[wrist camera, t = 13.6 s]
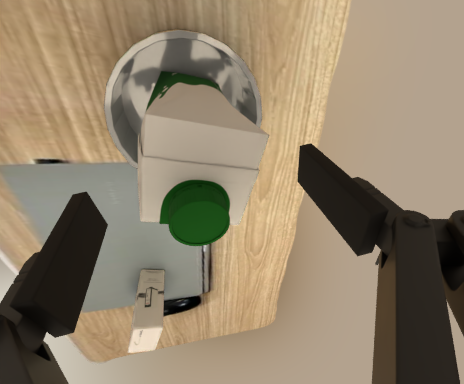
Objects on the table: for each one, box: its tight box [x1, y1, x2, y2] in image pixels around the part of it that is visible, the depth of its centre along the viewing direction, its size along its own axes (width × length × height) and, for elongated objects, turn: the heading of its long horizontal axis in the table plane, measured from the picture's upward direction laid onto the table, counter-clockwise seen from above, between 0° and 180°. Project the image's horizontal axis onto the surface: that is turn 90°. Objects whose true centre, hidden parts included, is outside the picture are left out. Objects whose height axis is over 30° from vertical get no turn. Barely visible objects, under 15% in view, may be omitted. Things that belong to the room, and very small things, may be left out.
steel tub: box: [104, 29, 262, 169], centre depth 27 cm, size 16×16×7 cm
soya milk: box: [138, 71, 269, 246], centre depth 22 cm, size 9×9×20 cm
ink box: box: [128, 269, 165, 353], centre depth 44 cm, size 9×5×12 cm, turn 160°
